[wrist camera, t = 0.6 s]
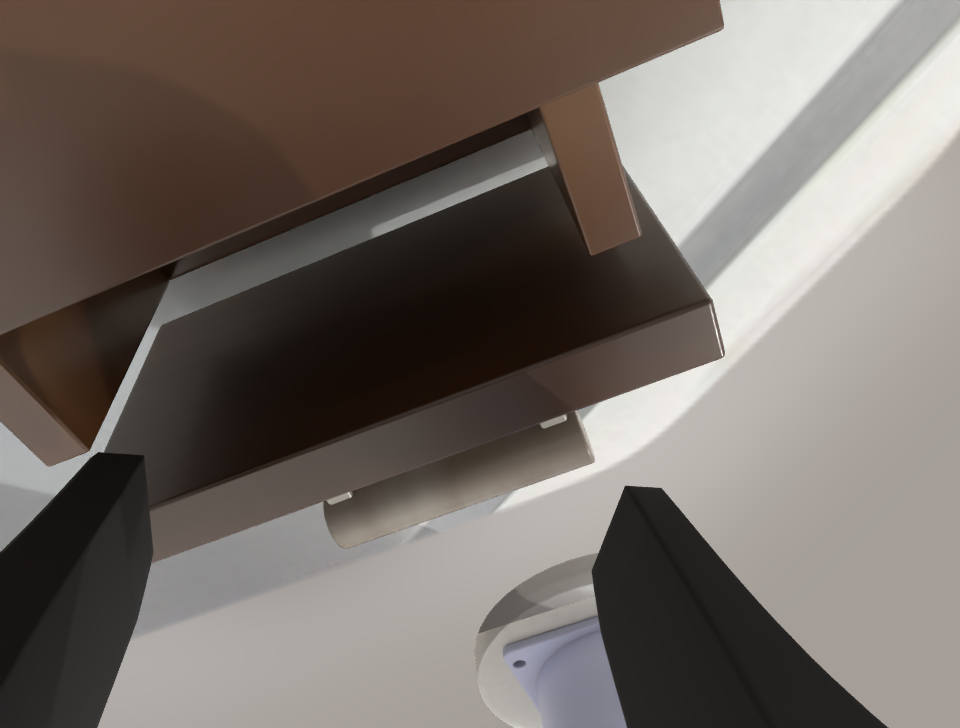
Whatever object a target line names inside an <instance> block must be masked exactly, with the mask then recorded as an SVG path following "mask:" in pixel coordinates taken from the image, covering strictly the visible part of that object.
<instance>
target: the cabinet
mask: <svg viewBox="0 0 960 728" xmlns="http://www.w3.org/2000/svg"><path fill="white" fill-rule="evenodd" d="M723 27H724V22H723V17H722V11H721V6H720V0H0V335H1V334H4V333H6V332H9V331H11V330H13V329H16V328H18V327H20V326H23V325H25V324H27V323H30V322H32V321H35V320H37V319H39V318H42V317H44V316H46V315H49V314H51V313H54V312H56V311H58V310H61V309H63V308H65V307H68V306H70V305H72V304H75V303H77V302H80V301H82V300H84V299H87V298H89V297H91V296H94V295H96V294H99V293H101V292H103V291H106V290H108V289H110V288H113V287H115V286H117V285H120V284H122V283H125V282H127V281H129V280H132V279H134V278H136V277H139V276H141V275H143V274H146V273H148V272H151V271H153V270H155V269H158V268H160V267H162V266H165V265H167V264H170V263H172V262H174V261H177V260H179V259H181V258H184V257H186V256H188V255H191V254H193V253H196V252H198V251H200V250H203V249H205V248H207V247H210V246H212V245H215V244H217V243H219V242H222V241H224V240H226V239H229V238H231V237H233V236H236V235H238V234H241V233H243V232H245V231H248V230H250V229H252V228H255V227H257V226H259V225H262V224H264V223H267V222H269V221H271V220H274V219H276V218H278V217H281V216H283V215H286V214H288V213H290V212H293V211H295V210H297V209H300V208H302V207H304V206H307V205H309V204H312V203H314V202H316V201H319V200H321V199H323V198H326V197H328V196H330V195H333V194H335V193H338V192H340V191H342V190H345V189H347V188H349V187H352V186H354V185H357V184H359V183H361V182H364V181H366V180H368V179H371V178H373V177H375V176H378V175H380V174H383V173H385V172H387V171H390V170H392V169H394V168H397V167H399V166H402V165H404V164H406V163H409V162H411V161H413V160H416V159H418V158H420V157H423V156H425V155H428V154H430V153H432V152H435V151H437V150H439V149H442V148H444V147H446V146H449V145H451V144H454V143H456V142H458V141H461V140H463V139H465V138H468V137H470V136H473V135H475V134H477V133H480V132H482V131H484V130H487V129H489V128H491V127H494V126H496V125H499V124H501V123H503V122H506V121H508V120H510V119H513V118H515V117H518V116H520V115H522V114H525V113H527V112H529V111H532V110H534V109H536V108H539V107H541V106H544V105H546V104H548V103H551V102H553V101H555V100H558V99H560V98H562V97H565V96H567V95H570V94H572V93H574V92H577V91H579V90H581V89H584V88H586V87H589V86H591V85H593V84H596V83H598V82H600V81H603V80H605V79H607V78H610V77H612V76H615V75H617V74H619V73H622V72H624V71H626V70H629V69H631V68H633V67H636V66H638V65H641V64H643V63H645V62H648V61H650V60H652V59H655V58H657V57H660V56H662V55H664V54H667V53H669V52H671V51H674V50H676V49H678V48H681V47H683V46H686V45H688V44H690V43H693V42H695V41H697V40H700V39H702V38H705V37H707V36H709V35H712V34H714V33H716V32H719V31H721V30H722V29H723Z"/></svg>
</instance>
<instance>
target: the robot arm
mask: <svg viewBox="0 0 960 728" xmlns="http://www.w3.org/2000/svg"><path fill="white" fill-rule="evenodd" d="M153 553H154V552H153V541H152V531H151V521H150V510H149V500H148V490H147V480H146V469H145V459H144V455H133V454H117V453H101V452H98V453H97V454H95V455H94V456H92V457H91V458H90V459H89V460H88V461H87V462H86V463H85V465H84V466H83V467H82V468H81V469H80V470H79V471H78V472H77V473H76V474H75V476H74V477H73V478H72V479H71V480H70V481H69V482H68V483H67V484H66V485H65V486H64V488H63V489H62V490H61V491H60V492H59V493H58V494H57V495H56V496H55V497H54V498H53V499H52V500H51V501H50V503H49V504H48V505H47V506H46V507H45V508H44V509H43V510H42V511H41V512H40V513H39V514H38V515H37V516H36V517H35V518H34V519H33V520H32V521H31V522H30V523H29V524H28V525H27V526H26V527H25V528H24V529H23V530H22V531H21V532H20V533H19V534H18V535H17V536H16V537H15V538H14V539H13V540H12V541H11V542H10V543H9V544H8V545H7V546H6V547H5V548H4V549H3V550H2V551H1V552H0V728H97V727H98V724H99V721H100V719H101V716H102V713H103V711H104V708H105V705H106V703H107V700H108V697H109V695H110V692H111V689H112V687H113V684H114V681H115V679H116V676H117V673H118V671H119V668H120V665H121V662H122V660H123V657H124V654H125V651H126V649H127V646H128V644H129V641H130V638H131V636H132V633H133V630H134V627H135V625H136V622H137V619H138V615H139V611H140V607H141V603H142V599H143V595H144V591H145V587H146V583H147V579H148V574H149V570H150V566H151V562H152V557H153ZM592 577H593V585H594V592H595V599H596V606H597V613H598V616H596V617H592V618H589V619H586V620H583V621H580V622H577V623H574V624H570V625H567V626H564V627H561V628H558V629H555V630H552V631H548V632H545V633H542V634H539V635H536V636H533V637H530V638H526V639H523V640H520V641H517V642H514V643H511V644H508V645H507V646H506V647H504V648H503V651H502V652H503V658H504V661H505V663H506V664H507V665H508V667H509V668H510V670H511V671H512V673H513V674H514V676H515V677H516V679H517V680H518V682H519V683H520V685H521V686H522V688H523V689H524V691H525V692H526V694H527V695H528V697H529V698H530V700H531V701H532V702H533V704H534V705H535V707H536V708H537V710H538V711H539V713H540V714H541V720H542V726H543V728H887V726H885V725H884V724H883V723H882V722H881V721H880V720H878V719H877V718H876V717H875V716H873V714H871V713H870V712H869V711H868V710H867V709H866V708H865V707H864V706H863V705H861V704H860V703H859V702H858V701H857V700H856V699H855V698H854V697H853V696H852V695H851V694H849V693H848V692H847V691H846V690H845V689H844V688H843V687H842V686H841V685H840V684H839V683H838V682H836V681H835V680H834V679H833V678H832V677H831V676H830V675H829V674H828V673H827V672H826V671H825V670H824V669H823V668H822V667H821V666H820V665H819V664H817V663H816V662H815V661H814V660H813V659H812V658H811V657H810V656H809V655H808V654H807V653H806V652H805V651H804V650H803V648H802V647H801V646H800V645H799V644H798V643H797V642H796V641H795V640H794V639H793V638H792V637H791V636H790V635H789V634H788V633H787V632H786V631H785V630H784V629H783V628H782V627H781V626H780V625H779V624H778V623H777V622H776V621H775V619H774V618H773V617H772V616H771V615H770V614H769V613H768V612H767V611H766V610H765V609H764V608H763V606H762V605H761V604H760V603H759V602H758V601H757V600H756V599H755V597H754V596H753V595H752V594H751V593H750V592H749V591H748V590H747V589H746V587H745V586H744V585H743V584H742V583H741V582H740V581H739V579H738V578H737V577H736V576H735V575H734V574H733V573H732V571H731V570H730V569H729V568H728V567H727V565H725V563H724V562H723V561H722V560H721V559H720V557H719V556H718V555H717V554H716V553H715V551H714V550H713V549H712V548H711V547H710V546H709V544H708V543H707V542H706V541H705V540H704V538H703V537H702V536H701V535H700V533H699V532H698V531H697V530H696V529H695V527H694V526H693V525H692V524H691V523H690V521H689V520H688V519H687V518H686V517H685V515H684V514H683V513H682V512H681V511H680V509H679V508H678V507H677V506H676V505H675V504H674V502H673V501H672V500H671V499H670V498H669V496H668V495H667V494H666V493H665V492H664V491H663V490H662V488H652V487H635V486H625V487H624V490H623V493H622V495H621V498H620V500H619V503H618V505H617V508H616V510H615V513H614V516H613V518H612V521H611V523H610V526H609V528H608V531H607V533H606V536H605V538H604V541H603V544H602V546H601V549H600V551H599V554H598V556H597V559H596V561H595V564H594V566H593V569H592Z"/></svg>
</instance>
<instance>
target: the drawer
mask: <svg viewBox="0 0 960 728" xmlns="http://www.w3.org/2000/svg"><path fill="white" fill-rule="evenodd" d="M530 129H532V130H533V132H534V135H535V137H536V139H537V141H538V143H539V146H540V148H541V150H542V152H543V154H544V157H545V159H546V161H547V163H548V165H549V167H546V168H544V169H541V170H539V171H536V172H534V173H532V174H529V175H527V176H524V177H522V178H519V179H517V180H514V181H512V182H510V183H507V184H505V185H502V186H500V187H497V188H495V189H492V190H490V191H488V192H485V193H483V194H480V195H478V196H475V197H473V198H471V199H468V200H466V201H463V202H461V203H458V204H456V205H453V206H451V207H449V208H446V209H444V210H441V211H439V212H436V213H434V214H431V215H429V216H427V217H424V218H422V219H419V220H417V221H414V222H412V223H410V224H407V225H405V226H402V227H400V228H397V229H395V230H392V231H390V232H388V233H385V234H383V235H380V236H378V237H375V238H373V239H371V240H368V241H366V242H363V243H361V244H358V245H356V246H353V247H351V248H349V249H346V250H344V251H341V252H339V253H336V254H334V255H331V256H329V257H327V258H324V259H322V260H319V261H317V262H314V263H312V264H310V265H307V266H305V267H302V268H300V269H297V270H295V271H292V272H290V273H288V274H285V275H283V276H280V277H278V278H275V279H273V280H271V281H268V282H266V283H263V284H261V285H258V286H256V287H253V288H251V289H249V290H246V291H244V292H241V293H239V294H236V295H234V296H231V297H229V298H227V299H224V300H222V301H219V302H217V303H214V304H212V305H210V306H207V307H205V308H202V309H200V310H197V311H195V312H192V313H190V314H188V315H185V316H183V317H180V318H178V319H175V320H173V321H170V322H168V323H166V324H163V325H161V327H160V329H159V331H158V333H157V335H156V337H155V340H154V342H153V344H152V346H151V349H150V351H149V353H148V355H147V357H146V360H145V362H144V364H143V366H142V369H141V371H140V373H139V375H138V377H137V380H136V382H135V384H134V386H133V389H132V391H131V393H130V395H129V397H128V400H127V402H126V404H125V406H124V409H123V411H122V413H121V415H120V418H119V420H118V422H117V424H116V426H115V429H114V431H113V433H112V435H111V438H110V440H109V442H108V444H107V446H106V449H105V451H104V453H117V454H133V455H144V459H145V469H146V480H147V490H148V500H149V510H150V521H151V531H152V541H153V552H154V553H153V557H152V562H151V563H154V562H156V561H159V560H162V559H165V558H167V557H170V556H173V555H176V554H179V553H181V552H184V551H187V550H190V549H192V548H195V547H198V546H201V545H204V544H206V543H209V542H212V541H215V540H218V539H220V538H223V537H226V536H229V535H231V534H234V533H237V532H240V531H243V530H245V529H248V528H251V527H254V526H256V525H259V524H262V523H265V522H268V521H270V520H273V519H276V518H279V517H281V516H284V515H287V514H290V513H293V512H295V511H298V510H301V509H304V508H306V507H309V506H312V505H315V504H318V503H320V502H323V509H324V516H325V520H326V523H327V526H328V529H329V531H330V533H331V535H332V537H333V539H334V540H335V542H336V543H337V544H338V545H339V546H340V547H342V548H351V547H353V546H356V545H359V544H362V543H365V542H368V541H371V540H374V539H376V538H379V537H382V536H385V535H388V534H391V533H394V532H396V531H399V530H402V529H405V528H408V527H411V526H414V525H417V524H419V523H422V522H425V521H428V520H431V519H434V518H437V517H440V516H442V515H445V514H448V513H451V512H454V511H457V510H460V509H463V508H465V507H468V506H471V505H474V504H477V503H480V502H483V501H486V500H488V499H491V498H494V497H497V496H500V495H503V494H506V493H509V492H511V491H514V490H517V489H520V488H523V487H526V486H529V485H531V484H534V483H537V482H540V481H543V480H546V479H549V478H552V477H554V476H557V475H560V474H563V473H566V472H569V471H572V470H575V469H577V468H580V467H583V466H586V465H589V464H592V463H594V462H595V458H594V454H593V451H592V448H591V445H590V442H589V439H588V436H587V434H586V431H585V428H584V425H583V423H582V420H581V418H580V415H579V413H578V410H579V409H582V408H585V407H587V406H590V405H593V404H596V403H598V402H601V401H604V400H607V399H610V398H612V397H615V396H618V395H621V394H623V393H626V392H629V391H632V390H635V389H637V388H640V387H643V386H646V385H648V384H651V383H654V382H657V381H660V380H662V379H665V378H668V377H671V376H674V375H676V374H679V373H682V372H685V371H687V370H690V369H693V368H696V367H699V366H701V365H704V364H707V363H710V362H712V361H715V360H718V359H721V358H722V357H724V355H725V350H724V346H723V342H722V337H721V333H720V329H719V325H718V321H717V317H716V313H715V308H714V304H713V300H712V299H711V297H710V296H709V294H708V293H707V291H706V290H705V288H704V287H703V285H702V284H701V282H700V281H699V279H698V278H697V276H696V275H695V273H694V272H693V270H692V269H691V267H690V266H689V264H688V263H687V261H686V260H685V258H684V257H683V255H682V254H681V252H680V251H679V249H678V248H677V246H676V245H675V243H674V242H673V240H672V239H671V237H670V236H669V234H668V233H667V231H666V230H665V228H664V227H663V225H662V224H661V222H660V221H659V219H658V218H657V216H656V215H655V213H654V212H653V210H652V209H651V207H650V206H649V204H648V203H647V201H646V200H645V198H644V197H643V195H642V194H641V192H640V191H639V189H638V188H637V186H636V185H635V183H634V182H633V180H632V179H631V177H630V176H629V174H628V173H627V171H626V170H625V168H624V167H623V165H622V163H621V160H620V156H619V153H618V149H617V146H616V142H615V139H614V135H613V132H612V129H611V125H610V122H609V118H608V115H607V111H606V108H605V104H604V101H603V98H602V94H601V91H600V87H599V84H598V83H596V84H593V85H591V86H589V87H586V88H584V89H581V90H579V91H577V92H574V93H572V94H570V95H567V96H565V97H562V98H560V99H558V100H555V101H553V102H551V103H548V104H546V105H544V106H541V107H539V108H536V109H534V110H532V111H529V112H527V113H525V114H522V115H520V116H518V117H515V118H513V119H510V120H508V121H506V122H503V123H501V124H499V125H496V126H494V127H491V128H489V129H487V130H484V131H482V132H480V133H477V134H475V135H473V136H470V137H468V138H465V139H463V140H461V141H458V142H456V143H454V144H451V145H449V146H446V147H444V148H442V149H439V150H437V151H435V152H432V153H430V154H428V155H425V156H423V157H420V158H418V159H416V160H413V161H411V162H409V163H406V164H404V165H402V166H399V167H397V168H394V169H392V170H390V171H387V172H385V173H383V174H380V175H378V176H375V177H373V178H371V179H368V180H366V181H364V182H361V183H359V184H357V185H354V186H352V187H349V188H347V189H345V190H342V191H340V192H338V193H335V194H333V195H330V196H328V197H326V198H323V199H321V200H319V201H316V202H314V203H312V204H309V205H307V206H304V207H302V208H300V209H297V210H295V211H293V212H290V213H288V214H286V215H283V216H281V217H278V218H276V219H274V220H271V221H269V222H267V223H264V224H262V225H259V226H257V227H255V228H252V229H250V230H248V231H245V232H243V233H241V234H238V235H236V236H233V237H231V238H229V239H226V240H224V241H222V242H219V243H217V244H215V245H212V246H210V247H207V248H205V249H203V250H200V251H198V252H196V253H193V254H191V255H188V256H186V257H184V258H181V259H179V260H177V261H174V262H172V263H170V264H167V265H165V266H162V267H160V268H158V269H155V270H153V271H151V272H148V273H146V274H143V275H141V276H139V277H136V278H134V279H132V280H129V281H127V282H125V283H122V284H120V285H117V286H115V287H113V288H110V289H108V290H106V291H103V292H101V293H99V294H96V295H94V296H91V297H89V298H87V299H84V300H82V301H80V302H77V303H75V304H72V305H70V306H68V307H65V308H63V309H61V310H58V311H56V312H54V313H51V314H49V315H46V316H44V317H42V318H39V319H37V320H35V321H32V322H30V323H27V324H25V325H23V326H20V327H18V328H16V329H13V330H11V331H9V332H6V333H4V334H1V335H0V422H2V423H3V424H4V425H5V426H6V427H7V428H8V429H9V430H10V431H11V432H12V433H13V434H14V435H15V436H16V437H17V438H18V439H19V440H20V441H21V442H22V443H24V444H25V445H26V446H27V447H28V448H29V449H30V450H31V451H32V452H33V453H34V454H35V455H36V456H37V457H38V458H39V459H40V460H41V461H42V462H43V463H45V464H46V465H47V466H53V465H55V464H58V463H61V462H63V461H66V460H68V459H71V458H73V457H76V456H79V455H81V454H84V453H86V452H88V451H89V450H90V449H91V446H92V444H93V442H94V440H95V438H96V436H97V434H98V432H99V430H100V427H101V425H102V423H103V421H104V419H105V417H106V415H107V413H108V411H109V408H110V406H111V404H112V402H113V400H114V398H115V396H116V394H117V392H118V389H119V387H120V385H121V383H122V381H123V379H124V377H125V375H126V373H127V370H128V368H129V366H130V364H131V362H132V360H133V358H134V356H135V354H136V351H137V349H138V347H139V345H140V343H141V341H142V339H143V337H144V335H145V332H146V330H147V328H148V326H149V324H150V322H151V320H152V318H153V315H154V313H155V311H156V309H157V307H158V305H159V303H160V301H161V299H162V296H163V294H164V292H165V290H166V288H167V286H168V284H169V280H172V279H174V278H177V277H179V276H181V275H184V274H186V273H189V272H191V271H193V270H196V269H198V268H200V267H203V266H205V265H208V264H210V263H212V262H215V261H217V260H220V259H222V258H224V257H227V256H229V255H232V254H234V253H236V252H239V251H241V250H243V249H246V248H248V247H251V246H253V245H255V244H258V243H260V242H263V241H265V240H267V239H270V238H272V237H274V236H277V235H279V234H282V233H284V232H286V231H289V230H291V229H294V228H296V227H298V226H301V225H303V224H306V223H308V222H310V221H313V220H315V219H317V218H320V217H322V216H325V215H327V214H329V213H332V212H334V211H337V210H339V209H341V208H344V207H346V206H349V205H351V204H353V203H356V202H358V201H360V200H363V199H365V198H368V197H370V196H372V195H375V194H377V193H380V192H382V191H384V190H387V189H389V188H391V187H394V186H396V185H399V184H401V183H403V182H406V181H408V180H411V179H413V178H415V177H418V176H420V175H423V174H425V173H427V172H430V171H432V170H434V169H437V168H439V167H442V166H444V165H446V164H449V163H451V162H454V161H456V160H458V159H461V158H463V157H466V156H468V155H470V154H473V153H475V152H477V151H480V150H482V149H485V148H487V147H489V146H492V145H494V144H497V143H499V142H501V141H504V140H506V139H508V138H511V137H513V136H516V135H518V134H520V133H523V132H525V131H528V130H530Z"/></svg>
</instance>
